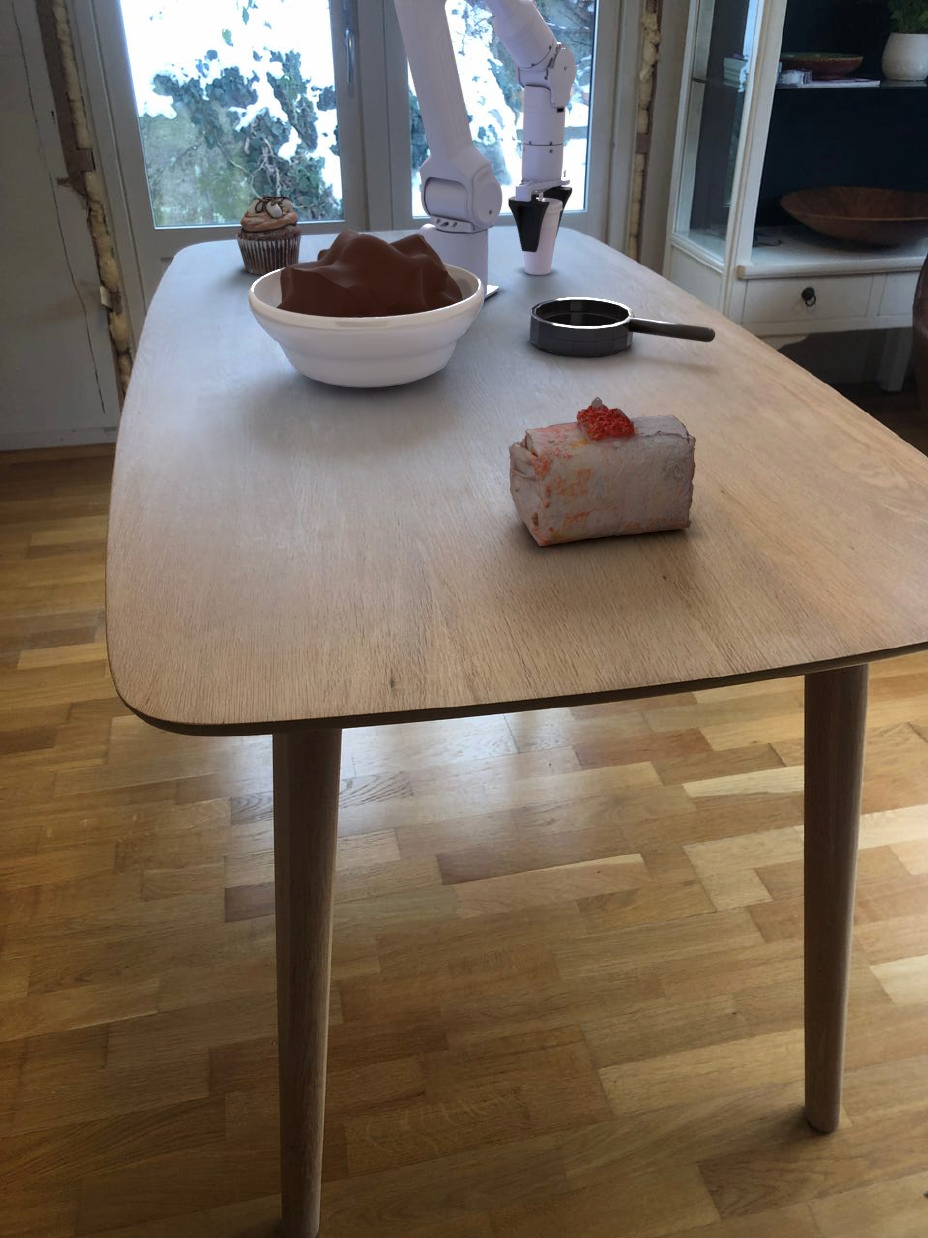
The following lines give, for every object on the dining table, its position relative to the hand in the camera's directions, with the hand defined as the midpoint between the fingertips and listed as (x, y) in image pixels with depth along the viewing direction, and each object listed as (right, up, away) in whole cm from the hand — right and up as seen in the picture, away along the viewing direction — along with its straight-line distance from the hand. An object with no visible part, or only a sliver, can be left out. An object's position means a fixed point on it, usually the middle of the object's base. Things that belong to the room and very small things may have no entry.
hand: (538, 245), depth 140 cm
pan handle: (+13, -22, -30) cm, 39 cm away
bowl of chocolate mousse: (-21, -27, -33) cm, 48 cm away
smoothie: (0, -3, +2) cm, 4 cm away
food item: (0, -47, -63) cm, 78 cm away
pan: (+3, -21, -25) cm, 33 cm away
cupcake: (-40, -2, +4) cm, 40 cm away
